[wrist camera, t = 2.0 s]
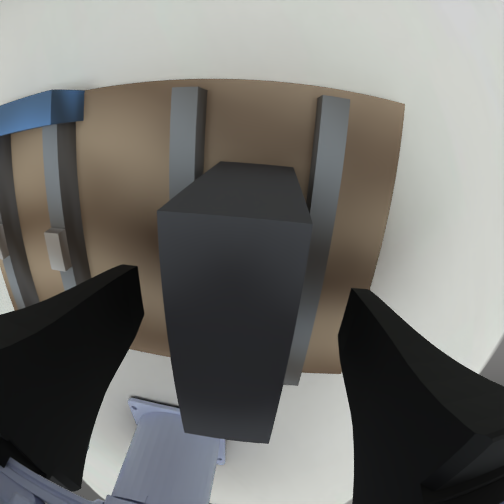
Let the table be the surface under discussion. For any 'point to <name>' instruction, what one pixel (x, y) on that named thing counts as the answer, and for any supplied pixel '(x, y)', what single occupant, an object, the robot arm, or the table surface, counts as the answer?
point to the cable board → (183, 174)
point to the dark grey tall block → (233, 294)
